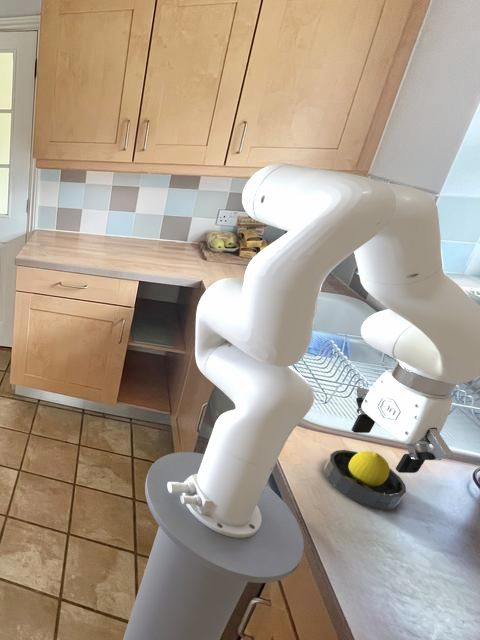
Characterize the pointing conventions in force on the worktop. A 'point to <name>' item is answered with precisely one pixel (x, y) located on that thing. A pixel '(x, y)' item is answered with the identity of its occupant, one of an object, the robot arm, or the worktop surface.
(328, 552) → the worktop surface
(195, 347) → the robot arm
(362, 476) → the lemon
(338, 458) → the pan
